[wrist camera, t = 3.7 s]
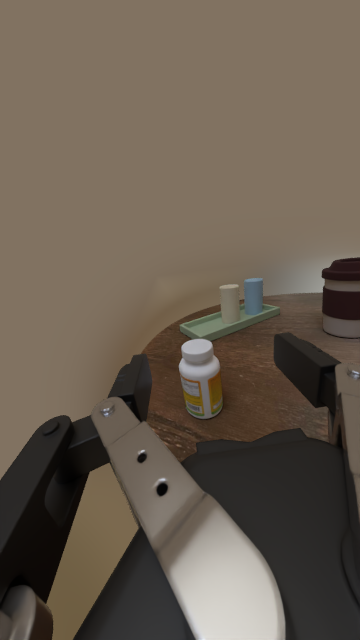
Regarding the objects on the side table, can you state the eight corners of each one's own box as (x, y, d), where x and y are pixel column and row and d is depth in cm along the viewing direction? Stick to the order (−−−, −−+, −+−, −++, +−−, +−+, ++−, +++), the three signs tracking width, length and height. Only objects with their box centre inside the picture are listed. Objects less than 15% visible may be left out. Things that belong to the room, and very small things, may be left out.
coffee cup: (391, 337, 36) (414, 256, 30) (340, 345, 36) (354, 265, 31) (346, 320, 45) (357, 255, 40) (305, 326, 45) (311, 262, 40)
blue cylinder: (244, 315, 55) (244, 282, 52) (244, 310, 60) (244, 279, 56) (263, 315, 54) (263, 280, 50) (261, 309, 58) (261, 277, 55)
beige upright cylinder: (221, 324, 52) (218, 289, 49) (222, 317, 56) (220, 285, 53) (239, 324, 50) (238, 287, 47) (240, 317, 55) (238, 283, 51)
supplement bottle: (217, 388, 30) (212, 333, 26) (228, 416, 24) (224, 352, 21) (183, 394, 29) (174, 339, 26) (188, 423, 24) (177, 360, 21)
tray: (201, 345, 44) (200, 337, 43) (180, 331, 53) (179, 324, 52) (279, 314, 54) (280, 307, 54) (251, 307, 63) (251, 301, 63)
